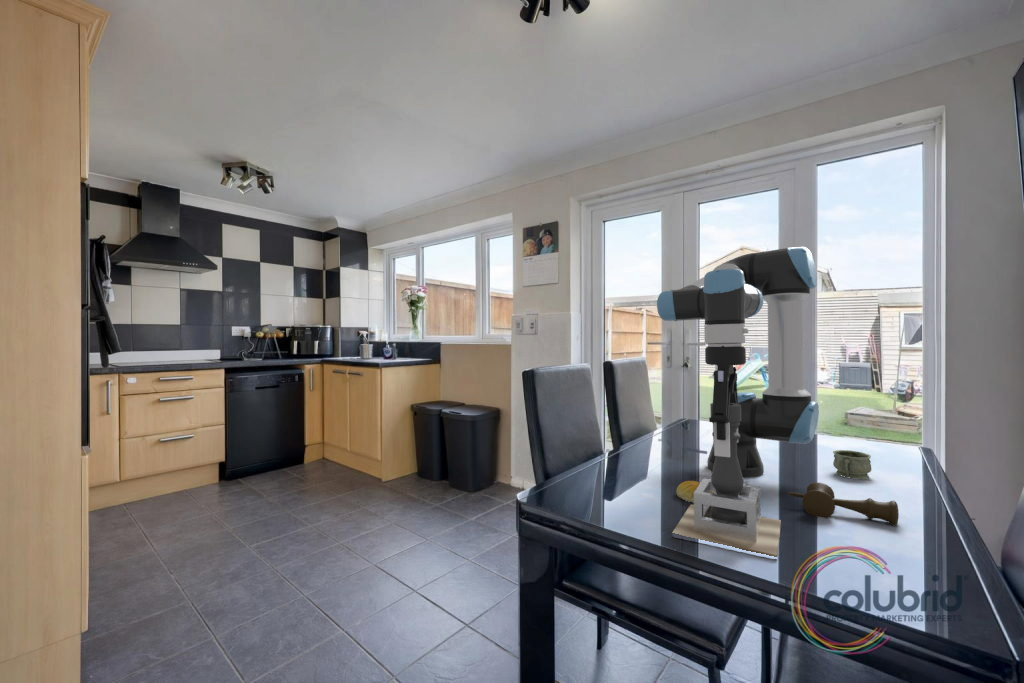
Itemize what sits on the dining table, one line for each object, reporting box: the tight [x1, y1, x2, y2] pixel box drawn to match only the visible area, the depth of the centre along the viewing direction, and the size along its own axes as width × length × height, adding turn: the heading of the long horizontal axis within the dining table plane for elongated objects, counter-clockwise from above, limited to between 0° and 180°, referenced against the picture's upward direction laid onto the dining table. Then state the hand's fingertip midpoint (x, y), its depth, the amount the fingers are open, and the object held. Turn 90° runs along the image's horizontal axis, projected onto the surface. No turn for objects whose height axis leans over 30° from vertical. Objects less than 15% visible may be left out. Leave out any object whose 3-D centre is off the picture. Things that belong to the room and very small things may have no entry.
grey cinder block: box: [693, 478, 762, 543], centre depth 91 cm, size 11×11×8 cm
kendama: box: [786, 481, 899, 526], centre depth 99 cm, size 6×10×20 cm
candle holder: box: [709, 402, 745, 524], centre depth 91 cm, size 6×6×25 cm
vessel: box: [832, 449, 872, 480], centre depth 127 cm, size 12×9×6 cm
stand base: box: [671, 504, 782, 557], centre depth 91 cm, size 18×18×1 cm
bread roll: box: [676, 480, 715, 504], centre depth 111 cm, size 8×9×4 cm
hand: (727, 448), depth 91 cm, fingers open, 13 cm apart
